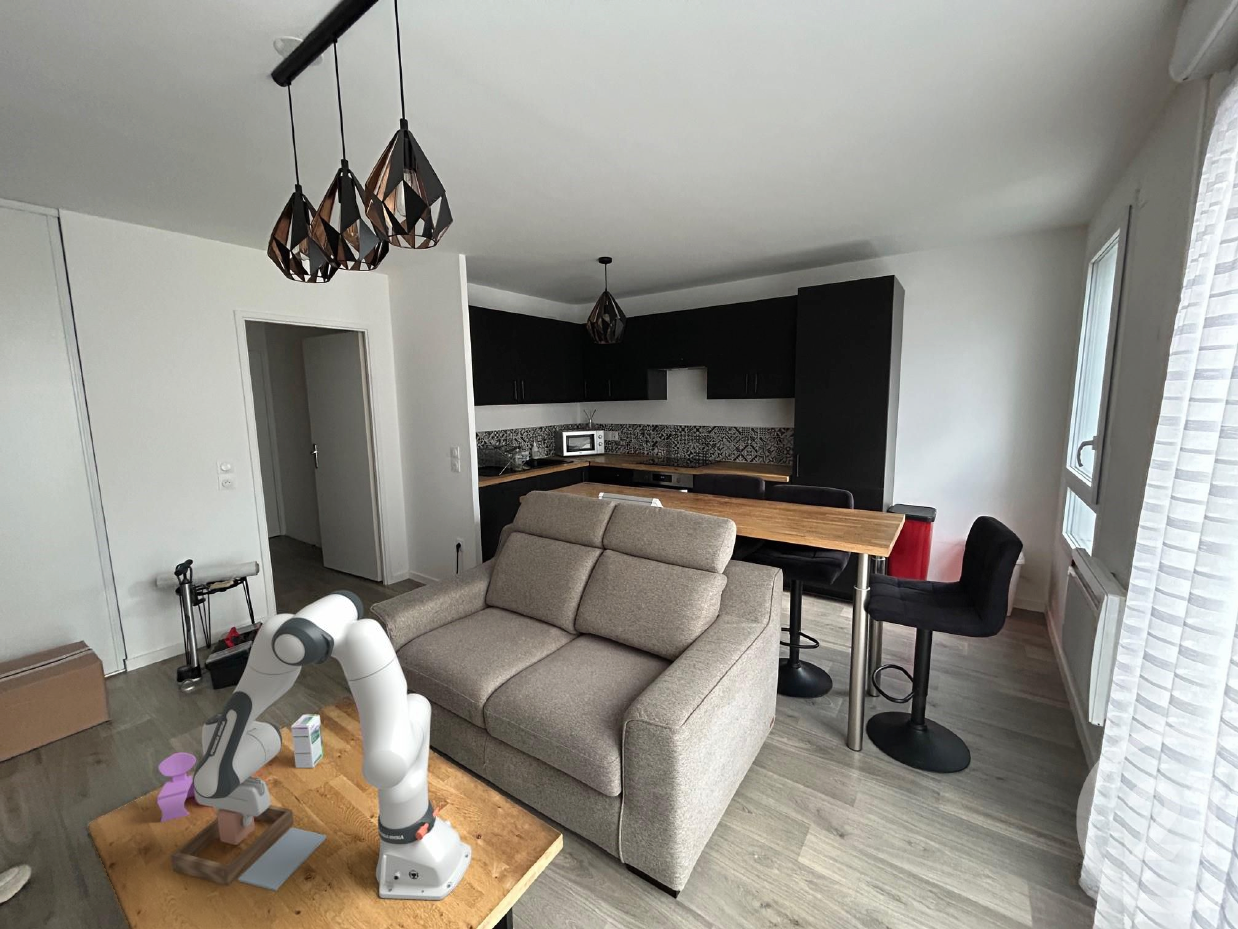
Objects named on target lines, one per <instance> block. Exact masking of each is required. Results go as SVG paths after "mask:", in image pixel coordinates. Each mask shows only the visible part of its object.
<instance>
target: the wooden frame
mask: <svg viewBox="0 0 1238 929" xmlns="http://www.w3.org/2000/svg"><path fill="white" fill-rule="evenodd" d="M293 814H294V813H293V809H290V808H285V807H281V806H279V805H278V806H276V805H272V804H270V806H269V807H268V808H267V809H266V810H265V811H264V812H263V813H262V814H261V815H259V816H253V817H254V820H257V821H261V822H265V823H269V824H271V825H270V826H268V827H267V829H265V830H264V831H263V832H262V833H261V834H260V835H259V836H258V837H257V838H256V839H254V840H253V841H252V842H251V843H250V844H249V845H248V846H247V847H245V849H243V850H242V851H241V852H240V853H239V854H238V855H237V856H236V857H235V858H233V859H232V860H231V861H230V862H229V863H228V864H225V863H221V862H218V861H213V860H209V859H207V858H206V859H205V858H202V857H198V856H197V855H198V854H199V853H201V852H202V851H203V850H204V849H205V848H207V847H208V846H209V845H210V844H211V843H213V842H214V841H215V840H216V839H217V838H218V837H219V838H220V832H219V824H218V817H216V819H214V820H213V821H212V822H210V823H209V824H208V825H207V826H205V827H204V828H203V829H202V830H200V831H199V832H198V833H197V834H196V835H194V836H193V837H192V838H191V839H189V840H188V841H186V843H184V844H183V845H182V846H180V847H179V848H178V849H177V850H175V851H174V852H173V853H171V855H170V857H171V865H172V871H173V872H176V873H181V874H184V875H187V874H189V875H188V876H192V877H195V878H199V879H203V880H206V881H210V882H212V883H213V882H214V883H217V884H220V885H225V886H227V887H228V886H230V885H231V884H232V883H233V882H234V881H235V880H237V879H238V878H239V877H240V876H241V875H242V874H243V873H244V872H245V871H247V870H248V869H249V868H250V867H251V866H252V865H253V864H254V863H255V862H256V861H257V860H258V859H259V858H260V857H261V856H262V855H263V854H264V853H265V852H266V851H267V850H268V849H270V848H271V847H272V846H273V845H274V844H275V843H276V842H277V841H278V840H279V839H280V838H281V837H282V836H283V835H284V834H285V833H286V832H287V831H288V830H289V829H290V828H292V827H293V826H294V816H293Z"/></svg>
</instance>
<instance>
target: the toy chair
mask: <svg viewBox="0 0 1238 929" xmlns="http://www.w3.org/2000/svg"><path fill="white" fill-rule="evenodd" d="M196 761H197V758H196V757H195V756H194V755H193V754H190V753H189V752H176V753H174V754H172V755H169V756H168V757H166V758H165V759H163V761H161V762H160V763H159V764H158V771H159V772H160V774H162V775H163V776H164V777H171V778H172V779H170V780H168V781H166V782H165V783H164V785H163V787H162V789H161V790H160V792H159V794H158V795H157V797H156V799H157V801H156V802H157V806H158V807H159V809H160V810H161V820H160V823H164V822H167V821H171V820H174V819H179V818H181V817H186V816H188V815H190V812H188V811H187V809H186V808H185V803H186V799H188V798H191V797H195V795H194V787H193V782H192V775H193V774H191V775H188V776H187V773H188V772H189V771H191V768H192V767H194V766H195V764H196Z"/></svg>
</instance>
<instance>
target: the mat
mask: <svg viewBox="0 0 1238 929" xmlns="http://www.w3.org/2000/svg"><path fill="white" fill-rule="evenodd" d="M326 838H327V834H322V833H317V832H314V831H309V830H304V829H301V828H300V829H299V828H298V827H297V828H296V827H290V828H289V829H288V830H287V831H286V832H285V833H284V834H283V835H282V836H281V837H280V838H279V839H278V840H277V841H275V842H274V843H273V844H272V845H271V846H270V847H269V848H268V849H267V850H266V851H265V852H264V853H263V854H262V855H261V856H260V857H259V858H257V859H256V860H255V861H254V862H253V863H252V864H251V865H250V866H249V867H248V868H247V869H246V870H245V871H244V872H243V873H242V874H240V875H239V876H238V877H237V881H238V882H242V883H245V884H248V885H252V886H256V887H260V888H264V889H268V890H271V891H275V892H277V890H278V889H279V888H280V887H282V885H283V884H284V883H285V882H286V881H287V880H288V878H290V876H291V875H292V874H293V873H295V871H296V870H297V869H298V868H299V867H300V866H301V865H302V864H303V863H304V862H305V861H306V860H307V859H308V857H309V856H310V855H311V854H312V853H313V852H314V851H315V850H316V849H317V848H318V847H319V846H320V845H321V844H322V843H323V842H324V841H325V839H326Z"/></svg>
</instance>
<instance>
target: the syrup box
mask: <svg viewBox="0 0 1238 929" xmlns="http://www.w3.org/2000/svg"><path fill="white" fill-rule="evenodd" d="M320 716H321V715H320V714H313V713H310V714H302V715H301V716H300V717H299V718H298V719H297V720H296V721H295V722H294V723H293V724H292V725H291V726H290V727H291V737H292V739H291V740H292V744H293V746H292V747H293V753H294V754H293V755H294V756H293V757H294V762H295V763H294V764H295V768H296V769H297V768H298V769H314V768H315V766H316V765H317V764H318V763H319V761H321V759H322V758H323V757H324V754H325V752H324V751H325V750H324V742H323V734H322V733H323V732H322V725H321V717H320Z"/></svg>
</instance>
